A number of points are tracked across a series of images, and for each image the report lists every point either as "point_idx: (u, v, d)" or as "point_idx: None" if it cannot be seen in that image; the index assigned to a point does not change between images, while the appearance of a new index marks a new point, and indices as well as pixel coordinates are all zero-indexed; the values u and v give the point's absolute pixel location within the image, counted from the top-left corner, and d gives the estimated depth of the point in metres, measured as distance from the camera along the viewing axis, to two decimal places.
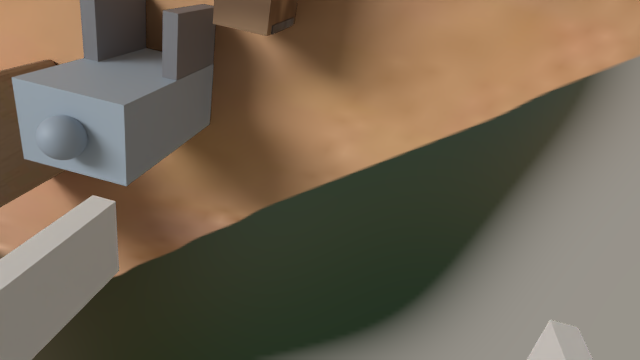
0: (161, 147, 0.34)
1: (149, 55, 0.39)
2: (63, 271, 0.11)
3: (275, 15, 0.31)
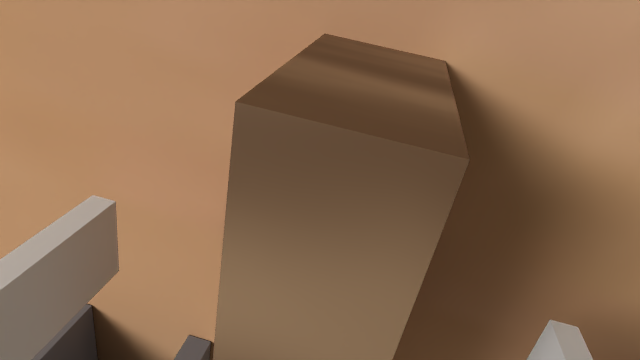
0: None
1: None
2: (63, 271, 0.11)
3: None
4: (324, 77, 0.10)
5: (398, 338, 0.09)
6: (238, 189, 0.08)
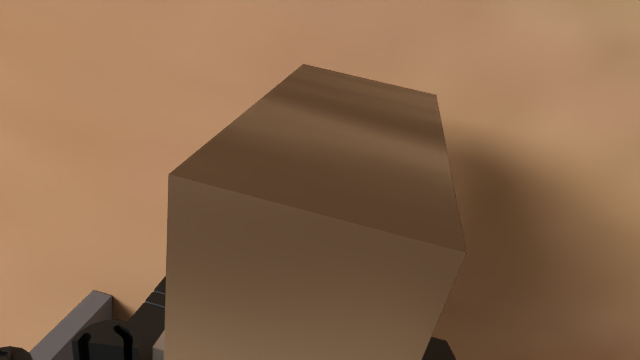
0: None
1: None
2: None
3: None
4: (292, 127, 0.08)
5: None
6: (178, 276, 0.07)
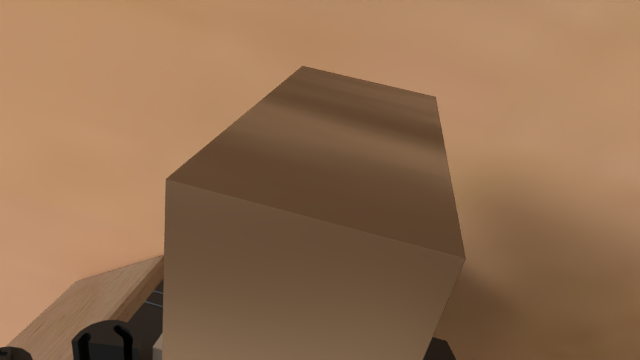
0: None
1: None
2: None
3: None
4: (290, 130, 0.08)
5: None
6: (176, 281, 0.06)
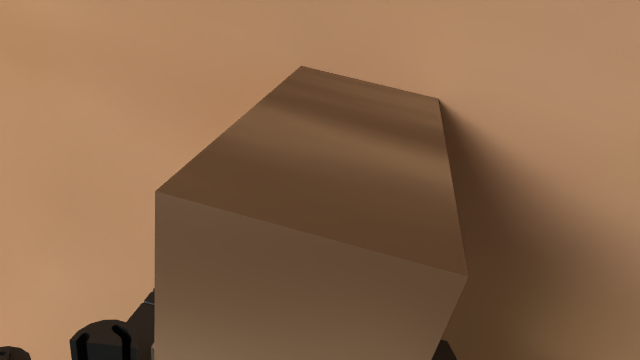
0: None
1: None
2: None
3: None
4: (287, 135, 0.08)
5: None
6: (167, 294, 0.06)
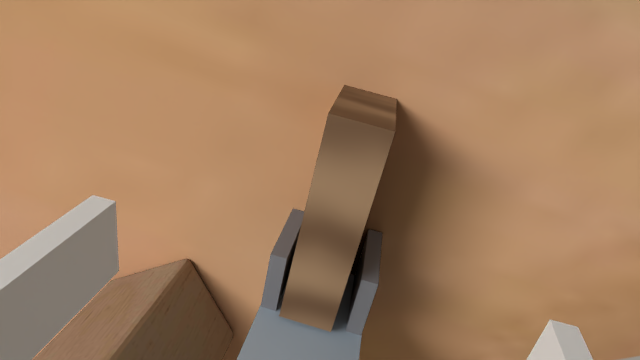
0: None
1: None
2: (63, 271, 0.11)
3: None
4: (350, 105, 0.27)
5: (374, 194, 0.27)
6: (325, 140, 0.26)
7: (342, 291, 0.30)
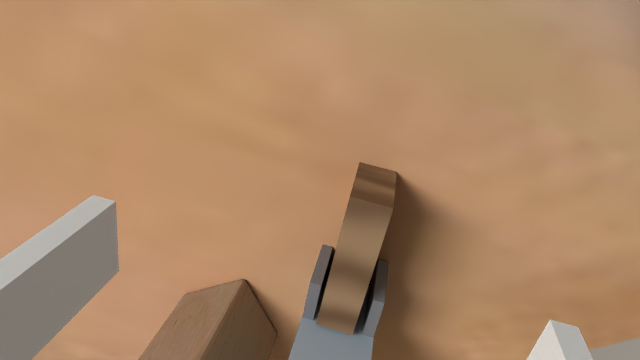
0: None
1: None
2: (63, 271, 0.11)
3: None
4: (364, 186, 0.41)
5: (380, 246, 0.40)
6: (347, 212, 0.39)
7: (360, 308, 0.44)
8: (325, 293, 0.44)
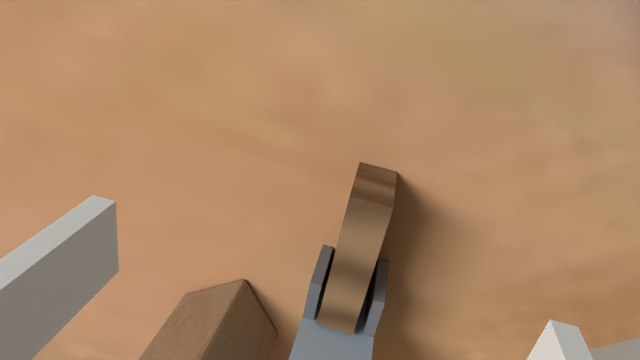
0: None
1: None
2: (63, 271, 0.11)
3: None
4: (364, 185, 0.41)
5: (380, 246, 0.40)
6: (347, 212, 0.39)
7: (360, 307, 0.44)
8: (325, 293, 0.44)
